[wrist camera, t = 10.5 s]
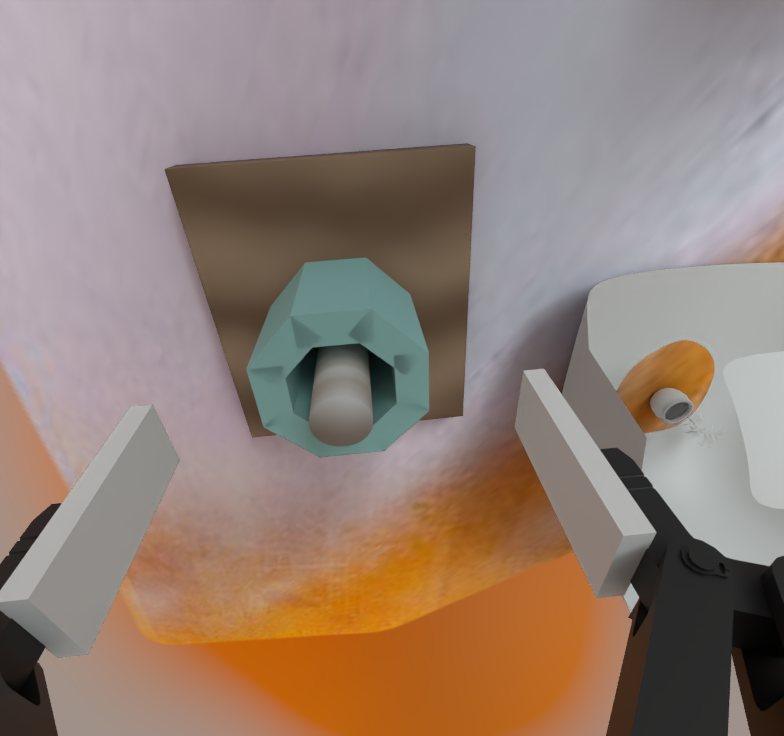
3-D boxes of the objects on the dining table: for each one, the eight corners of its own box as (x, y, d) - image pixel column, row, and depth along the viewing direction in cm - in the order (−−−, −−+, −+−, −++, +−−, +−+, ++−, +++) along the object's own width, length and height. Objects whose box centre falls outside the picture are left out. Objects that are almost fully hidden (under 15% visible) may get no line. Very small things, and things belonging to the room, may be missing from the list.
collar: (261, 266, 20) (231, 320, 15) (409, 253, 20) (428, 303, 15) (289, 386, 24) (273, 462, 19) (412, 374, 24) (429, 446, 19)
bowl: (511, 492, 35) (576, 647, 25) (554, 272, 24) (695, 389, 14) (735, 472, 36) (883, 613, 26) (868, 254, 25) (1201, 351, 15)
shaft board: (176, 164, 19) (34, 215, 11) (467, 143, 20) (559, 174, 11) (256, 422, 28) (214, 567, 19) (457, 402, 29) (505, 533, 20)
